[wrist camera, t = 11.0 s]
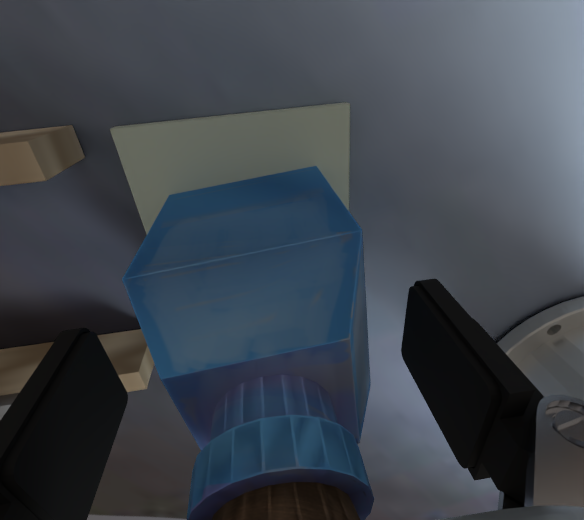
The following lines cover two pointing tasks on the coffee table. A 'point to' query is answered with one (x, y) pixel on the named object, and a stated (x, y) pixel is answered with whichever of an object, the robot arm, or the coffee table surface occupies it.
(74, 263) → the coffee table surface
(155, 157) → the mat
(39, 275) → the coffee table surface
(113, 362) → the cradle
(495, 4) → the coffee table surface
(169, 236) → the perfume bottle
